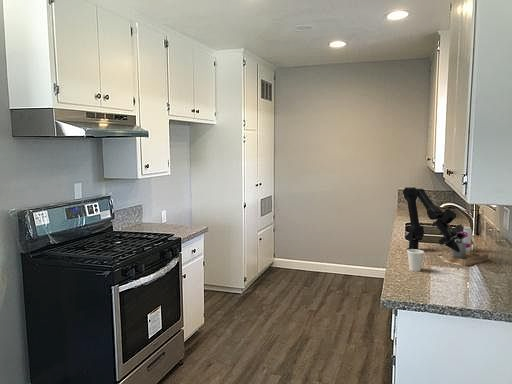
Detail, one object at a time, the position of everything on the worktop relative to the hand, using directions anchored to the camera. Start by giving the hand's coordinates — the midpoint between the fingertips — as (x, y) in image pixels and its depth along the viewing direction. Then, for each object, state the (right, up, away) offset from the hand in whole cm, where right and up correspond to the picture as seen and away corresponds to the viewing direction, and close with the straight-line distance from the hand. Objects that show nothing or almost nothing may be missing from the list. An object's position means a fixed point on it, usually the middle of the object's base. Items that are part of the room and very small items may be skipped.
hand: (461, 251), depth 235 cm
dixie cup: (-30, -8, -11) cm, 33 cm away
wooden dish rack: (+4, -6, +5) cm, 9 cm away
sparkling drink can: (+15, -4, +30) cm, 34 cm away
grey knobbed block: (-1, -6, +2) cm, 6 cm away
